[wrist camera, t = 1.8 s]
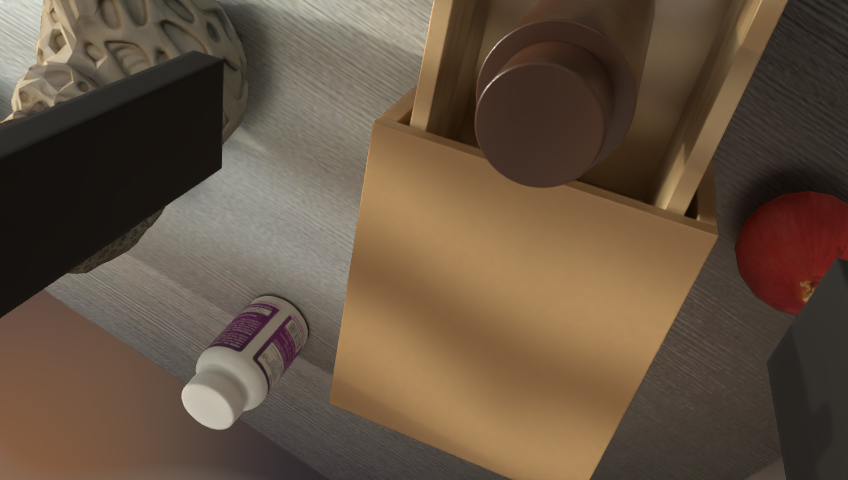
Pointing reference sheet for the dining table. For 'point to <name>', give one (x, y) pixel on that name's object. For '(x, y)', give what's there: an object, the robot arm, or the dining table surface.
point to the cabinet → (505, 303)
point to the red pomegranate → (792, 247)
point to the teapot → (126, 62)
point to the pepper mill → (562, 88)
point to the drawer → (658, 95)
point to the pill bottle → (245, 362)
